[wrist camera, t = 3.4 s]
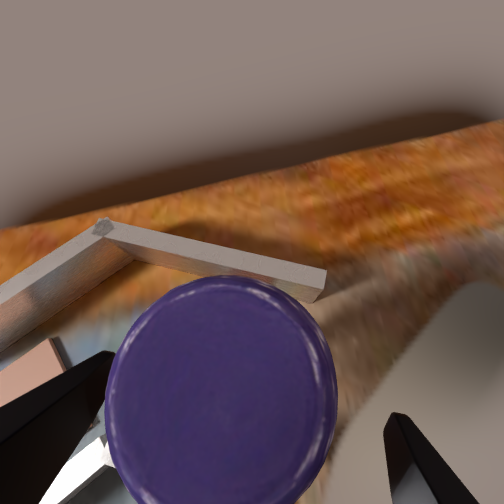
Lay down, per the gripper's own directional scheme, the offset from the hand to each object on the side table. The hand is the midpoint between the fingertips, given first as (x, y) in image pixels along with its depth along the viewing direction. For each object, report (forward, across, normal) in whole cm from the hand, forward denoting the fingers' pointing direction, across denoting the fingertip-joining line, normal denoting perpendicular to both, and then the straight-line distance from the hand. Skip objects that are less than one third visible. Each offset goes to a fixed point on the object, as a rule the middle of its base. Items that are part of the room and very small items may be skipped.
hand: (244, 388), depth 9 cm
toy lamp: (+8, 0, +7) cm, 11 cm away
